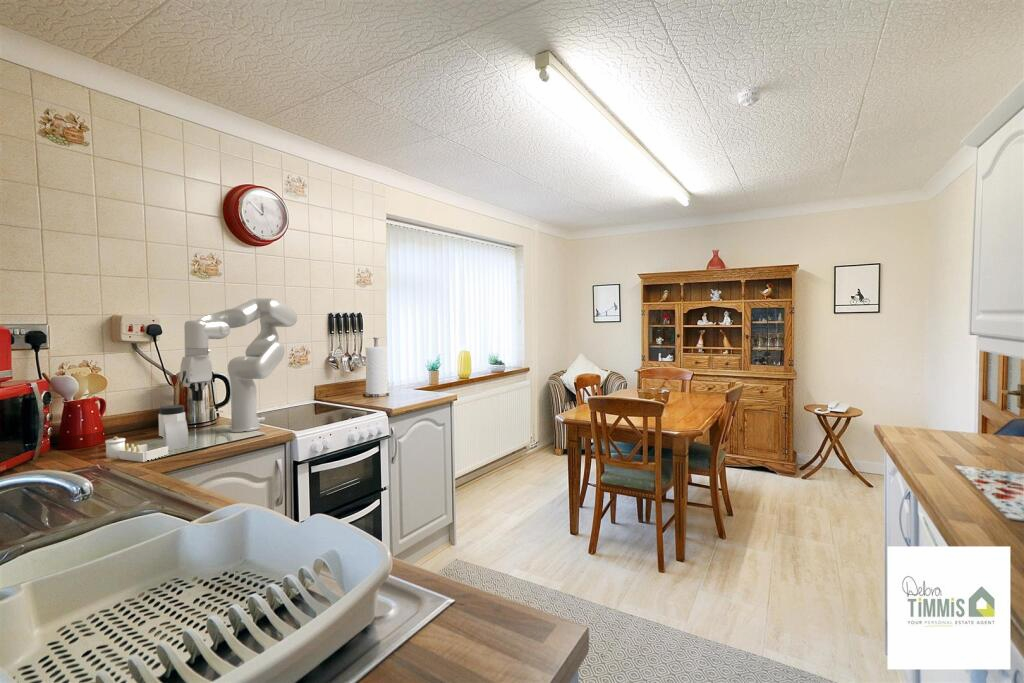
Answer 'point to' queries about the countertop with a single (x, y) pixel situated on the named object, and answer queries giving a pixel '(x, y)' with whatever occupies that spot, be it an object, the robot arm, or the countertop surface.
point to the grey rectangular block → (175, 435)
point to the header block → (141, 453)
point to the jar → (170, 415)
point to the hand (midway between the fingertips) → (197, 400)
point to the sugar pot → (114, 446)
